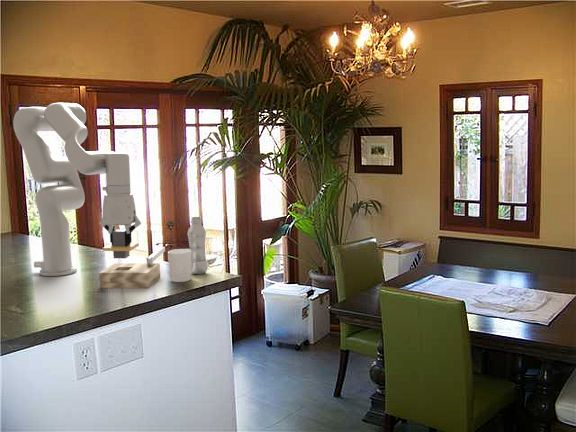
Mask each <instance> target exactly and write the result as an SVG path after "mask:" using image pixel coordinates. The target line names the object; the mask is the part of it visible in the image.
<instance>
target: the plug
mask: <svg viewBox="0 0 576 432" xmlns="http://www.w3.org/2000/svg"><path fill="white" fill-rule="evenodd" d="M112 234H113V246H112V243H111V242H110V244H107V245H106V246H104V247H102V252H112V253H113V259H127V258H128V257H130V252H131V251H132V250H134V249H136V248H138V247H139V245H140V242H131V243H130V245H128V246H126V245H125V234H126V229H125V228H124V229H123V228H121V229H118V228H117V229H116V228H115V230H114V231H112Z"/></svg>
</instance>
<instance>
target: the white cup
mask: <svg viewBox="0 0 576 432" xmlns="http://www.w3.org/2000/svg"><path fill="white" fill-rule="evenodd" d="M167 259H168V268H169V274H170V281H171V282H173V283H184V282H188V281H190V280H191V277H192V275H191V274H192V273H191V250H190V248H175V249H171V250H168V251H167Z"/></svg>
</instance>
